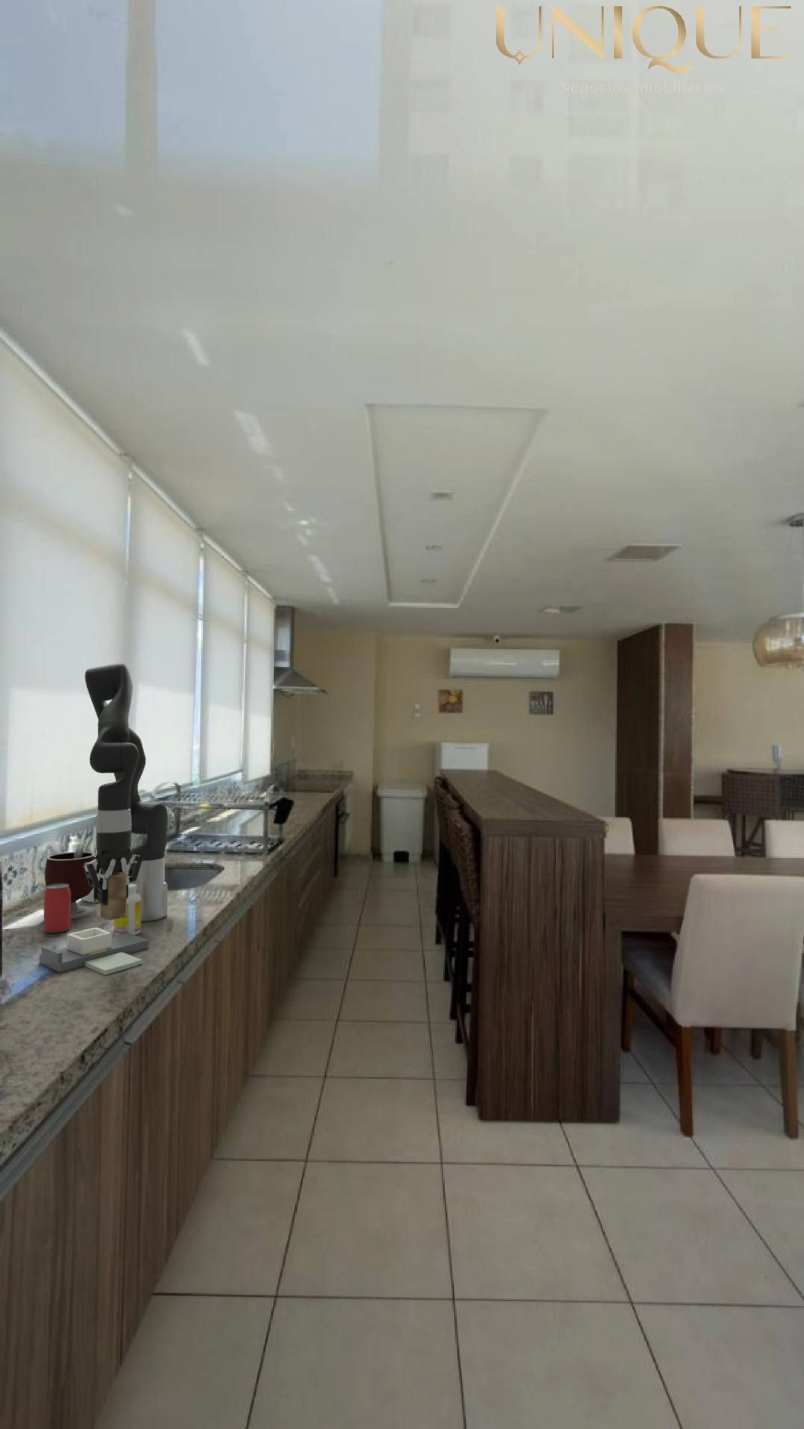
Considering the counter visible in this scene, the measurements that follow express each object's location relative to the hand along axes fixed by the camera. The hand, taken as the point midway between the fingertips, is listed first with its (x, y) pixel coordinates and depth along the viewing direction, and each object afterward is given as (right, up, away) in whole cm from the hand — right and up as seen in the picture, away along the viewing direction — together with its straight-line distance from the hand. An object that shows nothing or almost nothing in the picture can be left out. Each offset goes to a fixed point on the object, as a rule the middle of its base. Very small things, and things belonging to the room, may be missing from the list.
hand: (113, 902), depth 161 cm
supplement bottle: (-6, -15, +24) cm, 29 cm away
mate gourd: (-31, -15, +45) cm, 56 cm away
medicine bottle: (-30, -16, +61) cm, 70 cm away
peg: (0, -3, 0) cm, 3 cm away
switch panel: (-7, -15, +7) cm, 18 cm away
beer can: (-26, -15, +27) cm, 41 cm away
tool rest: (0, -14, 0) cm, 14 cm away
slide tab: (-8, -12, +6) cm, 16 cm away
